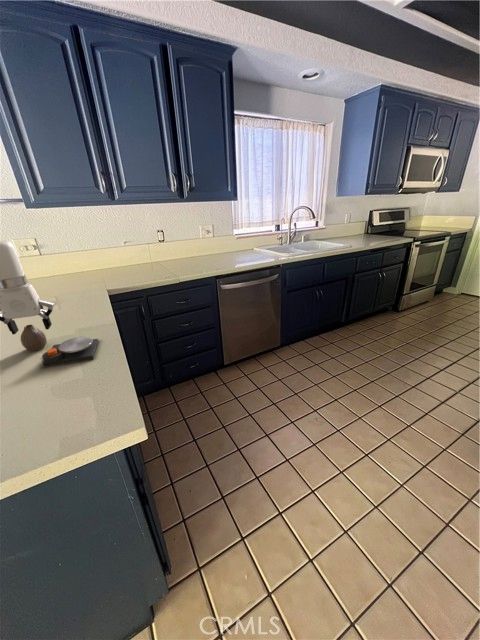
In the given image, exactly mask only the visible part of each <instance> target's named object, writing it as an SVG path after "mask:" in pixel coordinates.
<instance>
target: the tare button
mask: <svg viewBox="0 0 480 640" xmlns="http://www.w3.org/2000/svg"><path fill="white" fill-rule="evenodd" d="M46 352H47V354H48V356H54V355H56V354H58V353H57V350H56V349H55V348H52V347H51V348H49V349H47V350H46Z"/></svg>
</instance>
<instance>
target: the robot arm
mask: <svg viewBox="0 0 480 640" xmlns="http://www.w3.org/2000/svg"><path fill="white" fill-rule="evenodd" d="M44 307H46V308H47V310H45V309H44ZM54 307H55V303H53V302H50V301H47V300H46V301H45V300H42V299H41V298H40V296H39V294H38V292H37V291H36V289H35V288H34V286H33V285H32V283H31V282H29V281H28V279H27V276H26V274H25V271H24V267H23V266H22V263H21V261H20V258H19V256H18V253H17V251H16V248H15V246H14V244H13V243H12V242H11V241H8V240H0V322H2V323H3V324H4V325H6V326H7V329H8V330H9V332H11V334H12V335H16V334H17V333H18V332H19V330H20V329H19V328H18V325H17V323H16V320H15V319H22V318H30V317H35V316H39V317H41V318H42V319H41V320H42V323H43V326H44V329H45V330H49V329H50V328H51V327H52V325H53V324H52V321H51V318H50V315H51V314H52V312H53V311H54Z"/></svg>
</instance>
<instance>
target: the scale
mask: <svg viewBox="0 0 480 640" xmlns="http://www.w3.org/2000/svg"><path fill="white" fill-rule="evenodd" d="M91 339H92V341H93V342H92V344H91V345H90V346H89V347H87V348H86V349H83V350H81V351H77V352H73V353H63V352H60V351H59V349H58V347H59V345H60V344H61V343H57V344H53V345H52V347H51V349H52V348H55V349H56V350H57V353H58V354H56V355H54V356H48V354H47V351H46V352H44V353H42V355H41V358H42V360H43V362H42V366H43V368H47V367H52V366H57V365H58V366H59V365H65V364H71V363H77V362H82V361H89V360H94V359H95V355H96V351H97V350H98V349H97V348H98V346H99V338H91Z"/></svg>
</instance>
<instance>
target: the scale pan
mask: <svg viewBox="0 0 480 640" xmlns="http://www.w3.org/2000/svg"><path fill="white" fill-rule="evenodd" d="M92 339H93V338H91V337H90V336H76V337H72V338H68V339H67V340H64V341H62V342H61V343H59V344H60V345H59V347H58V349H59V351H60V352H63V353H73V352H77V351H81V350H83V349H86V348H87V347H89V346H90V345H91V344H92V342H93V341H92Z"/></svg>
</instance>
